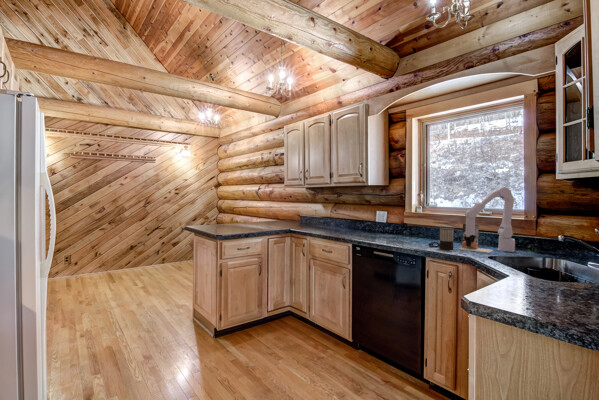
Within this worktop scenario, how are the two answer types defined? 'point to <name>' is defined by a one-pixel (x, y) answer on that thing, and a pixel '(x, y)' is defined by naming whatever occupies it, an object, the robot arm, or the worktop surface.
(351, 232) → the worktop surface
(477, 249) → the mat
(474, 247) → the block
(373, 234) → the worktop surface
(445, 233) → the milk frother
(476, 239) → the coffee box
